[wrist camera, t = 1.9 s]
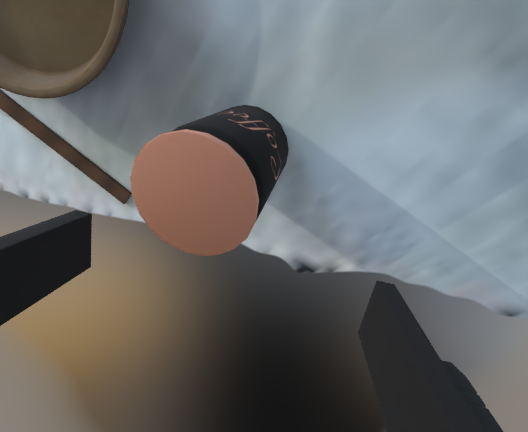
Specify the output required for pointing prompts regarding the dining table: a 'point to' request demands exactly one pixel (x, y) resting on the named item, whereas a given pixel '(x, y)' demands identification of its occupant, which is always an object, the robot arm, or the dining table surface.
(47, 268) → the robot arm
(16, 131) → the dining table surface
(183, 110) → the dining table surface
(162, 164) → the coffee jar
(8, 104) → the walnut ruler
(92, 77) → the plant saucer
